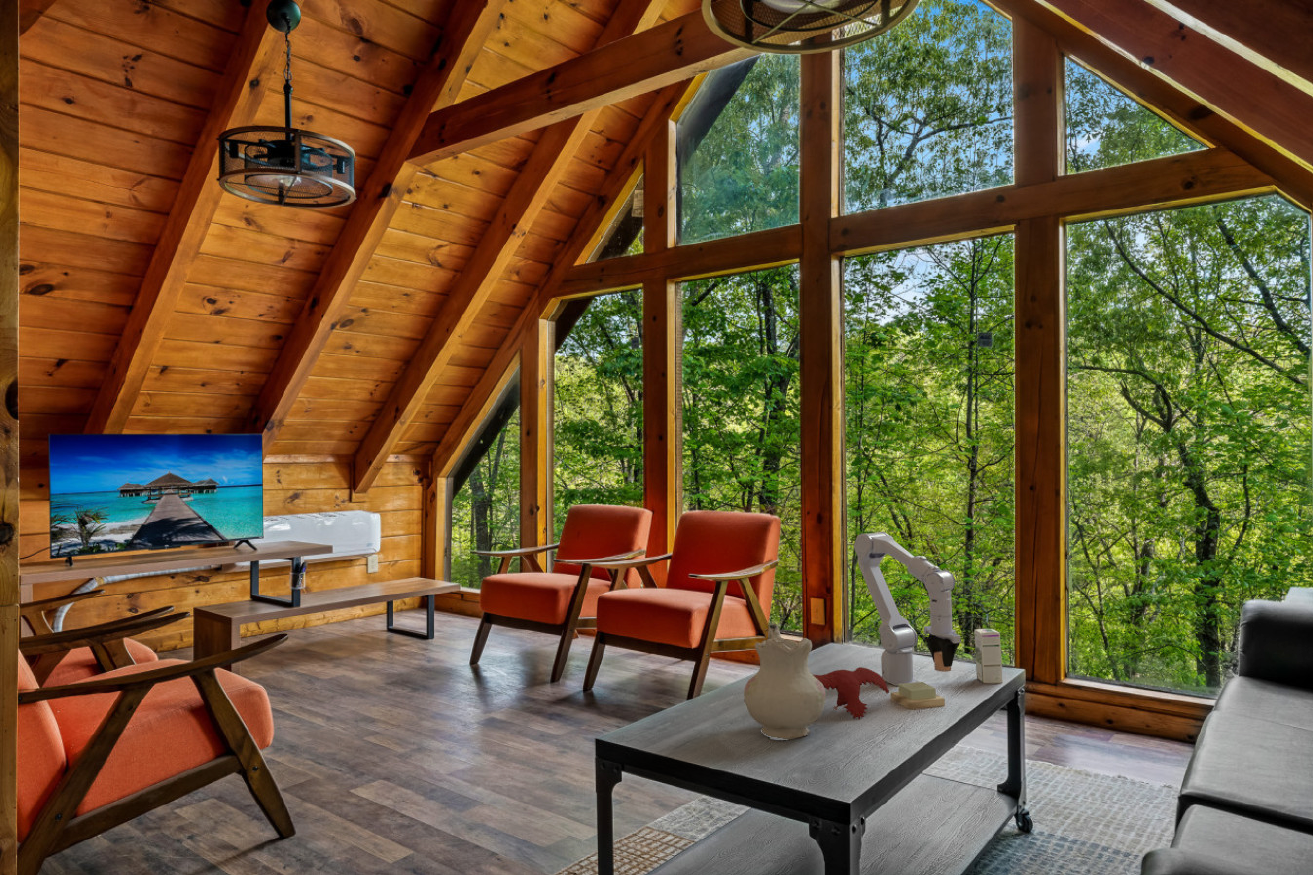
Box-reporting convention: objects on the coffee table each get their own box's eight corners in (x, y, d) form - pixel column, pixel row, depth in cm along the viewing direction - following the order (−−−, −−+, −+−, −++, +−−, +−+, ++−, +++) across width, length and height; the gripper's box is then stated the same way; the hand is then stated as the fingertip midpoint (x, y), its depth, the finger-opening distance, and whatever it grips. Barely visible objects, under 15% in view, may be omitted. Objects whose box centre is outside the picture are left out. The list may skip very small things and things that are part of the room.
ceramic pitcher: (731, 727, 216) (721, 628, 215) (799, 711, 222) (790, 615, 222) (770, 754, 195) (759, 645, 195) (844, 736, 202) (834, 630, 202)
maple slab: (890, 701, 233) (890, 692, 233) (923, 697, 235) (923, 688, 236) (911, 711, 223) (910, 702, 223) (945, 707, 226) (944, 698, 226)
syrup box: (1003, 683, 246) (1001, 632, 247) (982, 683, 246) (980, 632, 247) (995, 678, 252) (993, 628, 252) (975, 678, 252) (973, 628, 252)
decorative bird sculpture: (896, 724, 225) (872, 673, 235) (912, 706, 219) (886, 655, 229) (801, 738, 215) (780, 685, 225) (814, 720, 209) (792, 666, 219)
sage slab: (898, 693, 232) (898, 684, 232) (922, 691, 233) (921, 681, 233) (911, 700, 225) (911, 690, 225) (935, 697, 226) (935, 688, 226)
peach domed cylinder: (931, 668, 240) (930, 652, 240) (945, 667, 241) (944, 650, 241) (940, 672, 236) (940, 655, 236) (954, 670, 237) (954, 654, 237)
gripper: (969, 618, 233) (971, 668, 233) (938, 609, 247) (940, 657, 247) (946, 620, 231) (948, 671, 231) (916, 611, 245) (918, 659, 245)
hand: (942, 664), depth 238 cm, fingers closed on peach domed cylinder, 4 cm apart
